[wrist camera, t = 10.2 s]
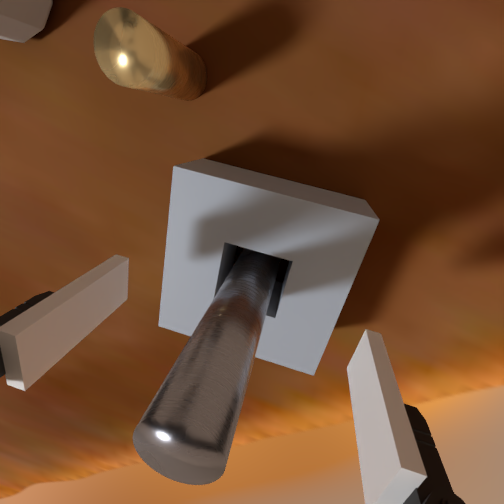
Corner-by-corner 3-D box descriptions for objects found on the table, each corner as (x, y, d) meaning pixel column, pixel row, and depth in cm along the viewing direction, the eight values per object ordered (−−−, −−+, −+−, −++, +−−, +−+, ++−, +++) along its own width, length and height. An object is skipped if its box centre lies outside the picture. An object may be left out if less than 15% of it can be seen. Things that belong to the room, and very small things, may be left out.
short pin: (167, 44, 19) (92, 1, 13) (210, 54, 19) (156, 14, 12) (163, 95, 20) (94, 79, 14) (203, 104, 20) (152, 93, 14)
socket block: (203, 158, 21) (173, 165, 17) (365, 199, 20) (379, 219, 16) (185, 292, 26) (158, 325, 22) (313, 331, 25) (313, 375, 21)
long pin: (249, 230, 23) (134, 404, 8) (286, 240, 22) (233, 439, 8) (242, 263, 24) (131, 464, 10) (276, 273, 24) (216, 496, 9)
